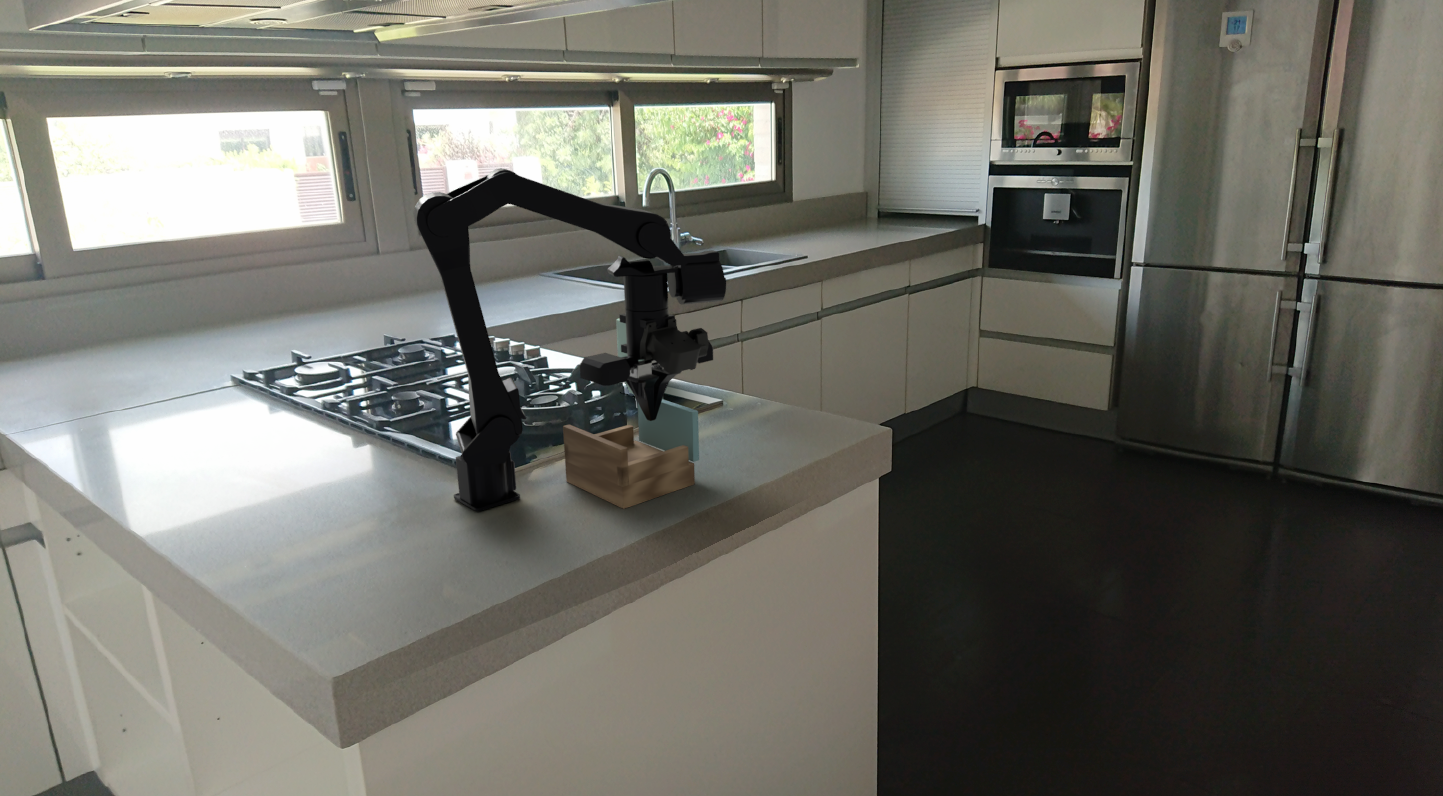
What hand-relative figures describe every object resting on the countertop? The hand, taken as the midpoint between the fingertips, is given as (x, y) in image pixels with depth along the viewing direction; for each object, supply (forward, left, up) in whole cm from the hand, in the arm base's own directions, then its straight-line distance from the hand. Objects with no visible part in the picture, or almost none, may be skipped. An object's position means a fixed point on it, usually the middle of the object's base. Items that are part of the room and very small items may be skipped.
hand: (651, 419), depth 130 cm
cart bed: (-4, 0, -8) cm, 9 cm away
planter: (+24, +34, -8) cm, 42 cm away
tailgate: (+2, 0, -5) cm, 6 cm away
